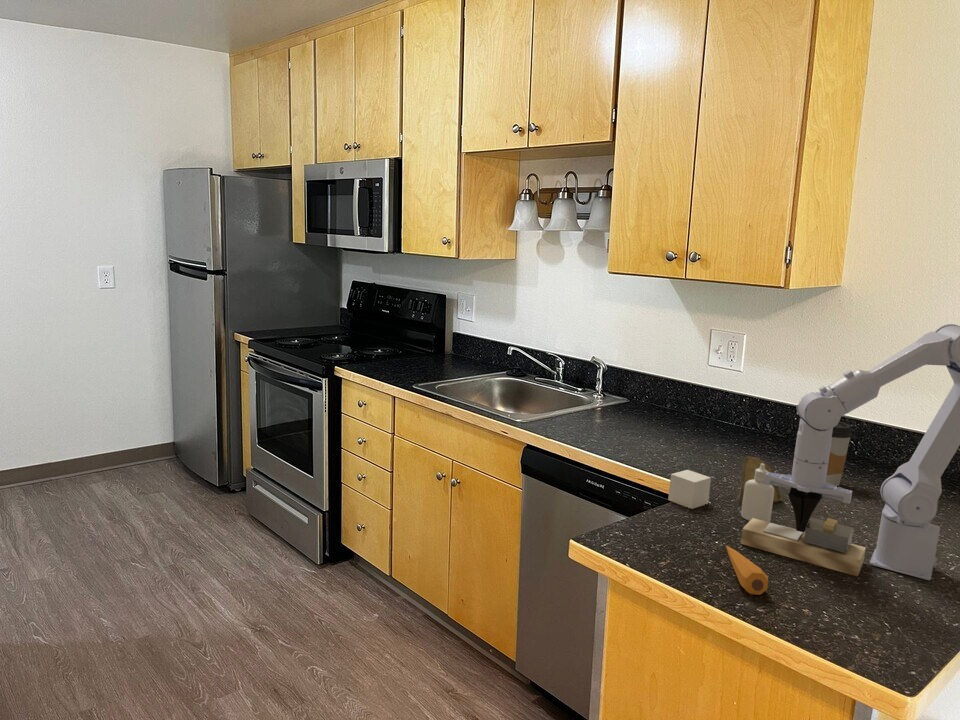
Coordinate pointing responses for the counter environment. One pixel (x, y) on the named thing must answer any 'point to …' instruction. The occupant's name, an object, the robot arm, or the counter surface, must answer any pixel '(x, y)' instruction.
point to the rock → (749, 474)
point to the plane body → (800, 547)
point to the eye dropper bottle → (757, 497)
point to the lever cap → (828, 534)
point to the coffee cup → (838, 453)
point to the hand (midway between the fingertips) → (801, 529)
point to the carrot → (748, 573)
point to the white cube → (689, 489)
